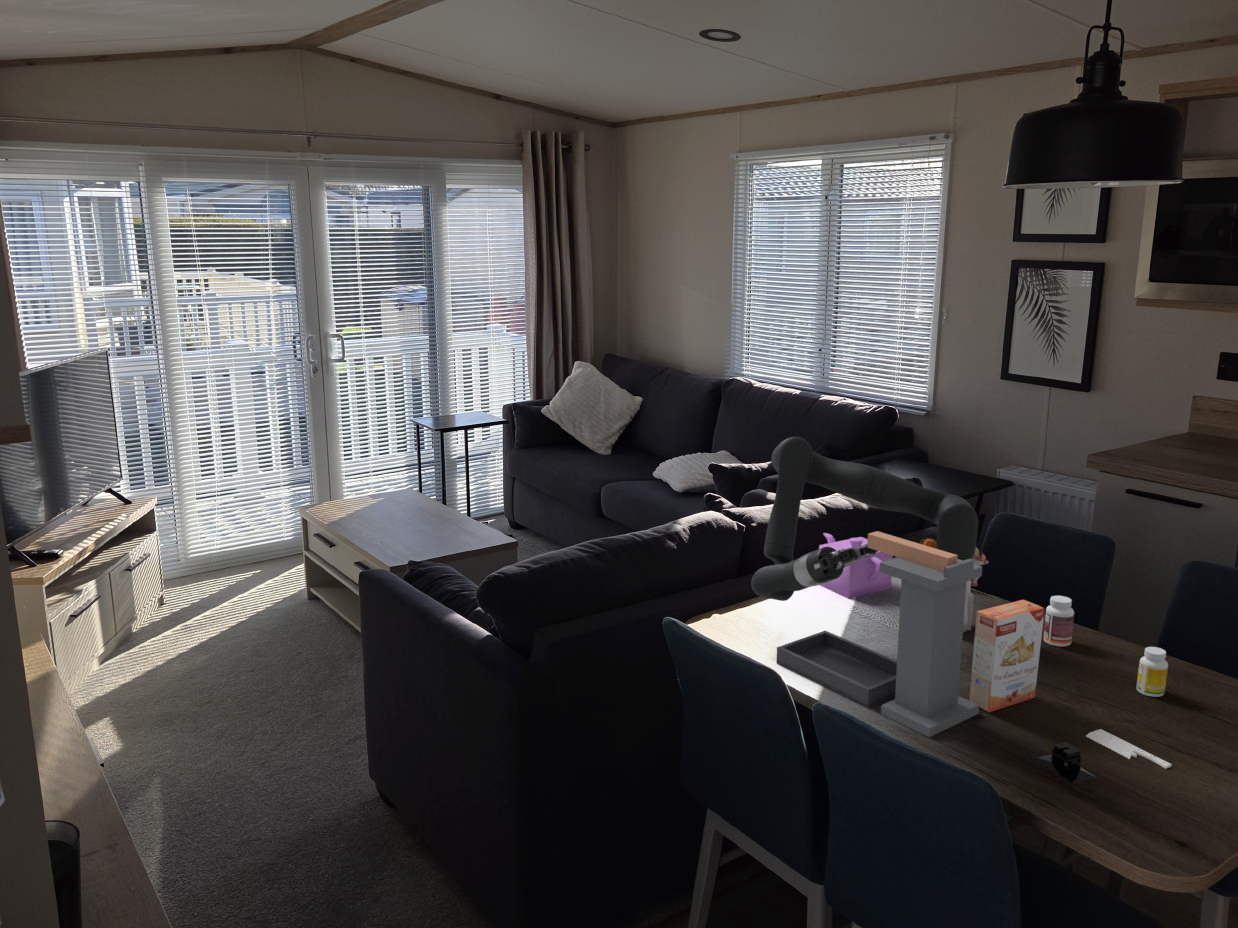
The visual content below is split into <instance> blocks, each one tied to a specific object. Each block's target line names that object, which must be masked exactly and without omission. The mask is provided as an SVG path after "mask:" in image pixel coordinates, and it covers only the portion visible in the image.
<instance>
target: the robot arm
mask: <svg viewBox="0 0 1238 928" xmlns="http://www.w3.org/2000/svg"><path fill="white" fill-rule="evenodd" d="M771 465H772V466H773V468H774V470H775V471H776V473H777V484H776V486H777V487H776V491H775V492H776V493H775V495H774V496H775V497H774V499H773V500H774V501H773V504H772V508H771V511H770V516H769V519H768V523H767V528H766V534H765V540H764V546H763V554H764V556H765V557H766V558H768V559H769V560H772V562H774V564H771V565H767V566H763V567H761V568H758V570H756V571H755V572H754V573H753V576H752V578H751V582H750V583H751V589H752V591H753V592H754V593H755V594H756V595H757V596H758V597H760V598H761V597H762V598H766V599H769V600H774V601H775V600H776V601H781V602H785V601H788V600H790V598H792V597H793V594H794V592H799V591H802V590H803V591H804V590H805V589H808V588H811V587H817V586H820V584H823V583H826V582H829V581H832V580H834V579H837V578H839V577H840V576H841V574H842V573H843V569H844V567H847V566H850V565H851V564H852V563H855V562H858V561H861V560H863V558H864V557H867V556H871V555H874V554H875V553H876V552H878V551H877V550H874V549H871V548H868V547H867V544H865V545H863V546H860V547H859V546H853V547H850V548H848V549H841V550H838V552H837V551H836V550H835V549H834V548H831V547H823V548H821V549H819V548H818V549H816V550H813V551H811V552H808V553H806V554H804V555H802V556H800V557H799V558H796V559H794V548H795V544H796V543H795V542H796V536H797V530H798V529H797V528H798V523H799V522H798V520H799V514H800V509H801V508H800V507H801V501H802V496H803V494H804V493H803V492H804V488H805V485H806V483H808V484H809V483H810V484H814V485H817V486H820V487H823V488H825V489H827V490H830V491H832V492H834V493H837V494H839V495H841V496H843V497H846V498H848V499H851V500H853V501H856V502H859V503H861V504H864V505H867V506H870V507H872V508H874V509H879V510H883V511H884V510H885V511H889V512H899V513H907V514H910V515H913V516H916V517H919V518H922V519H924V520H926V521H927V522H931V523H932V524H934V525H936V526H937V534H936V548H935V549H939V550H942V551H945V552H949V553H952V554H955V555H958V558H957V559H959V560H963V561H964V560H967V559H972V560H973V556H974V554H975V550H976V548H977V540H978V539H977V538H978V529H979V520H978V515H977V512H976V510H975V508H973V506H972V505H971V503H970V502H969V501H968V500H966V499H965V498H963V497H962V496H959V495H956V494H952V493H951V494H950V493H947V492H942V491H940V490H939V491H938V490H935V489H931V488H927V487H923V486H921V485H919V484H915V483H914V482H911V481H909V480H907V479H905V478H902V477H900V476H897V475H895V474H893V473H890V472H888V471H885V470H882V469H879V468H877V467H875V466H871V465H869V464H868V465H867V464H863V463H858V462H854V461H853V462H851V461H844V460H838V459H833V458H829V457H826V456H823V455H821V454H819V453H817V452H815V451H813V448H812V445H811V444H810V443H809V442H808V440H806V439H805V438H802V437H801V436H790V437H788V438H786V439H783V440H782V441H781V442H780V443H779V444H778V445H776V447H775V448H774V449H773V451H772V454H771ZM854 559H855V560H854ZM852 560H854V561H852ZM850 561H851V562H850ZM971 582H972V580H969V581H966V595H965V609H964V623H963V633H965V632H969V631H971V630H972V620H973V607H974V606H973V605H974V604H973V603H974V593H972V592H971V587H972V585H971Z"/></svg>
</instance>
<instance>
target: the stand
mask: <svg viewBox="0 0 1238 928" xmlns="http://www.w3.org/2000/svg"><path fill="white" fill-rule="evenodd" d="M879 572H881V573H884V574H887V575H890V576H892V577H894V578H896V579H899V580H901V586H900V599H899V600H900V603H899V604H900V605H899V619H898V620H899V622H898V638H897V639H898V641H897V654H896V655H897V657H896V661H897V672H896V691H895V696H894V699H892V700H891V701H888V702H885V703H883V704H882V705H880V707H881V708H880V715H882V716H884V717H887V718H888V719H891V720H892V721H895V722H897V723H898V724H900V725H903V726H905V727H906V728H909V729H911V730H913V731H915V732H917V733H919V734H921V735H924V737H925V736H926V737H927V738H931V737H933V736H936V735H937V734H939V733H941V732H943V731H945V730H947V729H950V728H952V727H954V726H956V725H958V724H960V723H962V722H964V721H967V720H968V719H971V718H973V717H974V716H977V715H979V711H980V707H979V705H978V704H976V703H974V702H971V701H969V699H967V698H964V697H961V696H959V694H960V693H959V691H960V678H961V677H960V675H961V674H960V673H961V666H962V665H961V664H962V663H961V661H962V650H963V649H962V647H963V638H964V637H963V635H964V632H963V623H964V609H965V595H966V581H969V580H971V581H973V579H975V578H978V577H979V578H981V577H982V576H983V566H982V565H980V566H979V565H976V564H974V560H972V559H967V560H964V561H963V560H959V559H957V563H955V564H952V565H949V566H946V567H944V572H943V571H940V570H937V569H934V568H930V567H927V566H924V565H921V564H918V563H915V562H912V561H909V560H905V559H902V558H899V557H896V556H895V557H894V558H893V559H890V560H886V561H883V562H880V571H879ZM980 576H981V577H980ZM979 578H978V579H979Z"/></svg>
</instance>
